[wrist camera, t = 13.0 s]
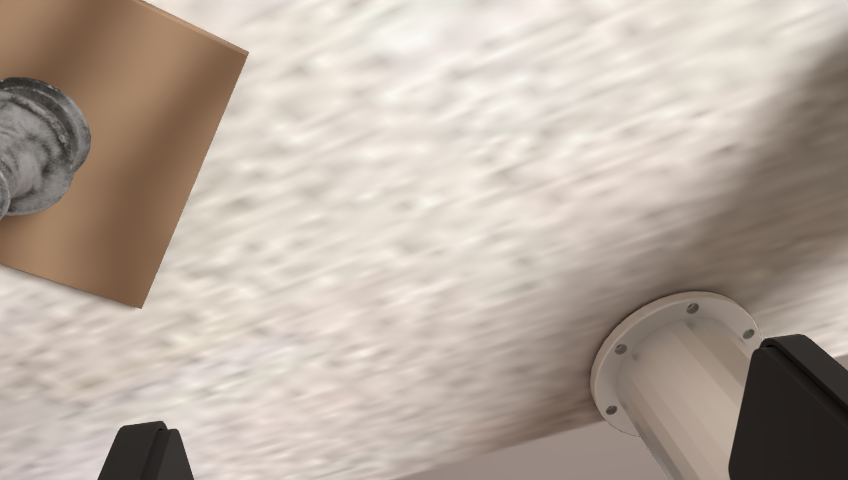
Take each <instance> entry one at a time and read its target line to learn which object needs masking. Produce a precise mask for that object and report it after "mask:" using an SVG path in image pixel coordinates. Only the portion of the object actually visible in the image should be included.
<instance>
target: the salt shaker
mask: <svg viewBox="0 0 848 480" xmlns="http://www.w3.org/2000/svg"><path fill="white" fill-rule="evenodd" d="M90 143H91V134H90V130H89V126H88V122H87V120H86V118H85V116H84V115H83V113H82V111H81V109H80V108H79V107H78V106H77V105H76V103H75V102H74V101H73V100H72V99H71V98H70V97H69V96H68V95H66V94H65V93H64V92H62V91H61V90H59V89H58V88H57V87H54V86H52V85H50V84H48V83H46V82H44V81H41V80H36V79H32V78H27V77H9V78H6V79H2V80H0V220H1V219H2V218H3V217H4V215H9V216H14V215H30V214H33V213H37V212H40V211H43V210H46V209H47V208H49V207H51V206H52V205H54V204H55V203H57V202H58V201H59V200H60V199H61V198H62V197H63V195H64V194H65V193H66V192H67V191H68V190H69V187H70V185H71V182H72V180H73V177H74V172H76V171H77V170H78V169H79V168H80V166H81V165H82V164H83V163H84V162H85V160H86V158H87V156H88V153H89V151H90Z"/></svg>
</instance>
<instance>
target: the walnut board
mask: <svg viewBox="0 0 848 480" xmlns="http://www.w3.org/2000/svg"><path fill="white" fill-rule="evenodd" d="M248 54H249V52H248V51H245V50H243V49H241V48H239V47H237V46H235V45H233V44H231V43H229V42H227V41H225V40H223V39H221V38H219V37H217V36H215V35H213V34H211V33H208V32H206V31H204V30H202V29H200V28H198V27H196V26H194V25H192V24H190V23H188V22H186V21H184V20H182V19H180V18H178V17H176V16H174V15H172V14H169V13H167V12H165V11H163V10H161V9H159V8H157V7H155V6H153V5H151V4H149V3H147V2H145V1H143V0H0V80H2V79H6V78H9V77H27V78H32V79H36V80H41V81H44V82H46V83H48V84H50V85H52V86H54V87H57V88H58V89H59V90H61V91H62V92H64V93H65V94H66V95H68V96H69V97H70V98H71V99H72V100H73V101H74V102H75V103H76V105H77V106H78V107H79V108H80V109H81V111H82V113H83V115H84V116H85V118H86V120H87V122H88V126H89V130H90V134H91V143H90V151H89V153H88V156H87V158H86V160H85V162H84V163H83V164H82V165H81V166H80V168H79V169H78V170H77V171H76V172H74V177H73V180H72V182H71V185H70V187H69V190H68V191H67V192H66V193H65V194H64V195H63V197H62V198H61V199H60V200H59V201H58V202H57V203H55V204H54V205H52V206H51V207H49V208H47V209H46V210H43V211H40V212H37V213H33V214H30V215H14V216H9V215H4V217H3V218H2V219H1V220H0V264H3V265H6V266H9V267H12V268H15V269H18V270H22V271H25V272H28V273H31V274H34V275H37V276H40V277H43V278H47V279H50V280H53V281H56V282H59V283H62V284H65V285H68V286H71V287H75V288H78V289H81V290H84V291H87V292H90V293H93V294H96V295H100V296H103V297H106V298H109V299H112V300H115V301H118V302H121V303H124V304H128V305H131V306H134V307H137V308H140V309H142V306H143V304H144V302H145V299H146V297H147V295H148V292H149V290H150V288H151V285H152V283H153V280H154V278H155V276H156V273H157V271H158V268H159V266H160V264H161V261H162V259H163V256H164V254H165V252H166V249H167V247H168V245H169V242H170V240H171V237H172V235H173V233H174V230H175V228H176V225H177V223H178V221H179V218H180V216H181V214H182V211H183V209H184V206H185V204H186V202H187V199H188V197H189V194H190V192H191V190H192V187H193V185H194V183H195V180H196V178H197V175H198V173H199V171H200V168H201V166H202V163H203V161H204V159H205V156H206V154H207V151H208V149H209V147H210V144H211V142H212V140H213V137H214V135H215V132H216V130H217V128H218V125H219V123H220V120H221V118H222V116H223V113H224V111H225V109H226V106H227V104H228V101H229V99H230V97H231V94H232V92H233V89H234V87H235V85H236V82H237V80H238V77H239V75H240V73H241V70H242V68H243V66H244V63H245V61H246V58H247V56H248Z"/></svg>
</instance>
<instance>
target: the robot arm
mask: <svg viewBox="0 0 848 480" xmlns="http://www.w3.org/2000/svg"><path fill="white" fill-rule="evenodd" d="M590 386H591V394H592V397H593V399H594V402H595V405H596V406H597V408H598V410H599V411H600V413H601V415H602V416H603V418H604V419H605V420H606V421H607V422H608V423H609V424H610V425H611V426H613V427H615V428H617V429H618V430H620V431H621V432H624V433H627V434H630V435H633V436H639V437H641V438H642V439H643V441H644V443H645V444H646V446H647V448H648V449H649V451H650V452H651V454H652V456H653V457H654V459H655V460H656V462H657V464H658V465H659V467H660V468H661V470H662V471H663V473H664V474H665V476H666V478H667V479H668V480H848V371H847V370H846V369H845V368H844V367H843V366H842V365H840V364H839V363H838V362H837V361H835V360H834V359H833V358H832V357H831V356H830V355H829V354H827V353H826V352H825V351H824V350H823V349H821V348H820V347H819V346H818V345H817V344H816V343H814V342H813V341H812V340H811V339H810V338H808V337H806V336H805V335H801V334H795V335H787V336H780V337H773V338H767V339H764V340H763V341H762V342H761V339H760V333H759V330H758V327H757V325H756V323H755V321H754V319H753V318H752V317H751V316H750V315H749V314H748V313H747V312H746V311H745V310H744V309H743V308H742V307H741V306H739V305H738V304H737V303H736V302H735V301H733V300H731V299H729V298H727V297H725V296H723V295H720V294H716V293H711V292H699V291H691V292H684V293H678V294H673V295H670V296H667V297H664V298H660V299H658V300H656V301H654V302H652V303H650V304H647V305H645V306H643V307H642V308H640V309H639V310H637V311H636V312H634V313H633V314H631V315H630V316H628V317H627V318H626V319H625V320H624V321H623V322H621V323H620V324H619V325H618V326H617V327H616V328H615V329H614V330H613V331H612V333H611V334H610V335H609V336H608V337H607V339H606V340H605V341H604V343H603V344H602V346H601V348H600V350H599V351H598V353H597V355H596V358H595V361H594V363H593V366H592V370H591V378H590ZM98 480H194V478H193V475H192V472H191V468H190V465H189V462H188V459H187V455H186V452H185V449H184V446H183V443H182V439H181V436H180V433H179V431H178V430H177V429H169V430H168V429H167V427H166V425H165V423H164V422H163V421H156V422H148V423H141V424H134V425H126V426H123V427H121V428H120V429H119V431H118V433H117V435H116V437H115V440H114V442H113V444H112V447H111V449H110V451H109V454H108V456H107V458H106V461H105V463H104V465H103V468H102V470H101V472H100V475H99V477H98Z"/></svg>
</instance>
